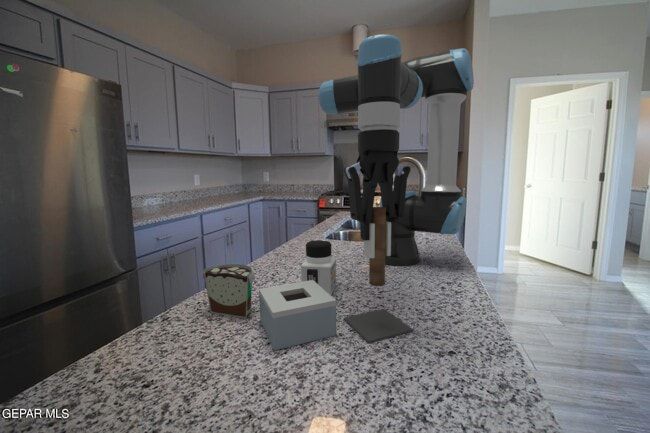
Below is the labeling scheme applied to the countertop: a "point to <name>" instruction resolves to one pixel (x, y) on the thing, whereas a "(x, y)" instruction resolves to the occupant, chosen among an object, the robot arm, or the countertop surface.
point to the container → (319, 265)
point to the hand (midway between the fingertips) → (377, 255)
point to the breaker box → (297, 313)
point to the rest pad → (377, 325)
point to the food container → (229, 289)
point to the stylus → (378, 248)
